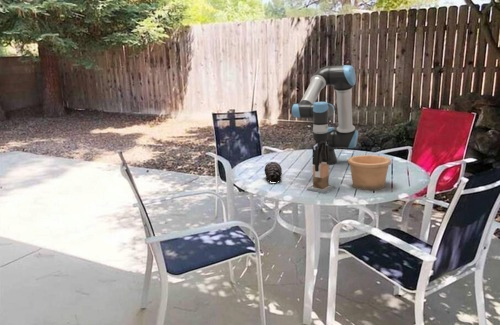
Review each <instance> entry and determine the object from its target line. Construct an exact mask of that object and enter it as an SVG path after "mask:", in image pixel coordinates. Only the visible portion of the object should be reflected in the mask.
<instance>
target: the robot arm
mask: <svg viewBox="0 0 500 325" xmlns="http://www.w3.org/2000/svg"><path fill="white" fill-rule="evenodd" d="M310 77H311V78H310V79H309V84H308V87H307V89H306V90H305V92H304V95H303V96H302V98H301V100H300V101H299V103H294V104H292V107H291V114H292V117H293V118H300V119H312V120H313V121H312V124H313V125H312V126H313V127H312V128H313V131H312V132H313V133H312V134H313V135H312V136H313V137H312V138H313V140H314V141H315V143H314V144H315V145H312V146H311V147H312V148H311V149H312V159H311V160H312V162H311V163H312V166H313V165H315V177H319V178H320V165H319V163H321V164H329V166H330V165H336V164H337V163H338V158H337V155H336V152H335V148H339V149H354V148H356V146H357V143H358V138H359V130H357V129H356V127H355V125H353V111H352V109H353V108H352V89H353V88H354V86H355V85H356V82H357V80H356V79H357V76H356V71H355V68H354V67H353V65H347V64H344V65H343V64H342V65H326V66H324V67H321V68H319V69H318V70H317V71H315V72H314V73H313V74H312V75H311V76H310ZM327 86H332V87H333V91H335V92H336V105H337V106H336V107H337V119H338V121H337V122H338V126H336V128H335V127H334V126H329V118H331V117H333V115H334V114H335V110H336V109H335V107H334V105H333V104H332V103H328V102H327V101H317V100H318V98H319V95H320V93H321V91H322V89H324V88H325V87H327Z"/></svg>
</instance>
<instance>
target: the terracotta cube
mask: <svg viewBox="0 0 500 325" xmlns="http://www.w3.org/2000/svg"><path fill="white" fill-rule="evenodd" d="M319 165H320V178H324V177H327V176H329V174H330V173H329V172H330V171H329V168H330V165H329V164H321V163H319ZM313 177H315V165H313V164H312V178H313Z"/></svg>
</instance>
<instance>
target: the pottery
mask: <svg viewBox="0 0 500 325" xmlns="http://www.w3.org/2000/svg"><path fill="white" fill-rule="evenodd" d="M347 163H348V165H349V166H350V173H351V174H350V175H351V182H352V186H353V187H354V188H356V189H360V190H364V191H365V190H366V191H378V190H381V189H383V188H385V186H386V180H387V174H388V169H389V166H390V165H391V163H392V160H391V158H389V157H385V156H382V155H375V154H374V155H373V154H362V155H361V154H360V155H354V156H351V157H348V159H347Z"/></svg>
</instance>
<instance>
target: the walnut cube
mask: <svg viewBox="0 0 500 325" xmlns="http://www.w3.org/2000/svg"><path fill="white" fill-rule="evenodd" d="M329 179H330V177H329V176H327V177H324V178H319V177H313V176H312V185H313V188H319V189H324V188H326V187H328V186H329V185H330V184H329V182H330V181H329Z"/></svg>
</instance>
